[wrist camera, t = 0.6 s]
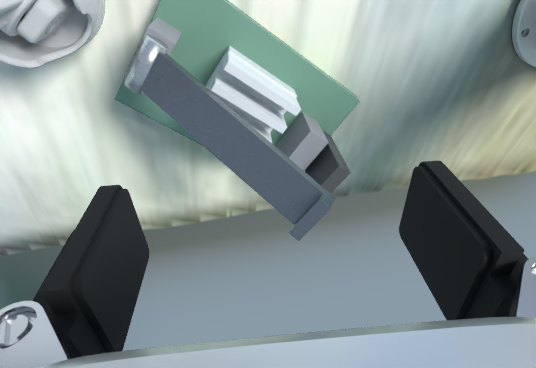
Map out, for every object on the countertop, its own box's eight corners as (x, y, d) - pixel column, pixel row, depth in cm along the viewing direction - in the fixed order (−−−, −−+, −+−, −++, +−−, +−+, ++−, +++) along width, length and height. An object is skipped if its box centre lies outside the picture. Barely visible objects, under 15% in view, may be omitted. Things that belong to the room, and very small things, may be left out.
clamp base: (354, 94, 39) (387, 133, 31) (282, 179, 45) (294, 231, 37) (179, -36, 30) (162, -28, 22) (119, 92, 36) (88, 134, 28)
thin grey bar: (339, 192, 26) (333, 205, 24) (304, 228, 28) (295, 244, 26) (156, 36, 27) (132, 31, 25) (134, 81, 29) (109, 81, 27)
